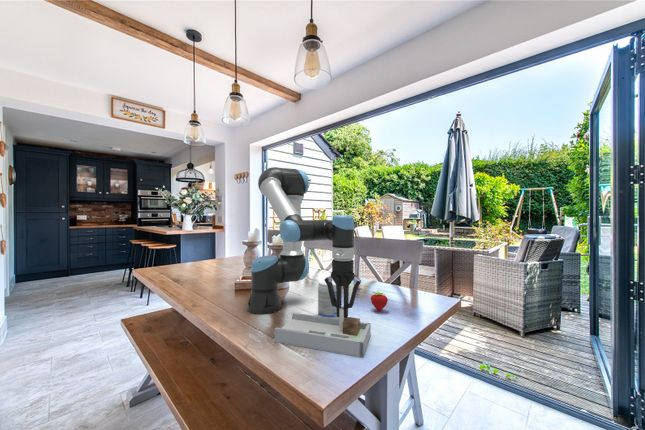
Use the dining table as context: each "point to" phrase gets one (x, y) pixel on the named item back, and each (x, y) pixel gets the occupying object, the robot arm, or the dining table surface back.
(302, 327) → the box
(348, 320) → the walnut block
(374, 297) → the strawberry
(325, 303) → the supplement tub
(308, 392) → the dining table surface
